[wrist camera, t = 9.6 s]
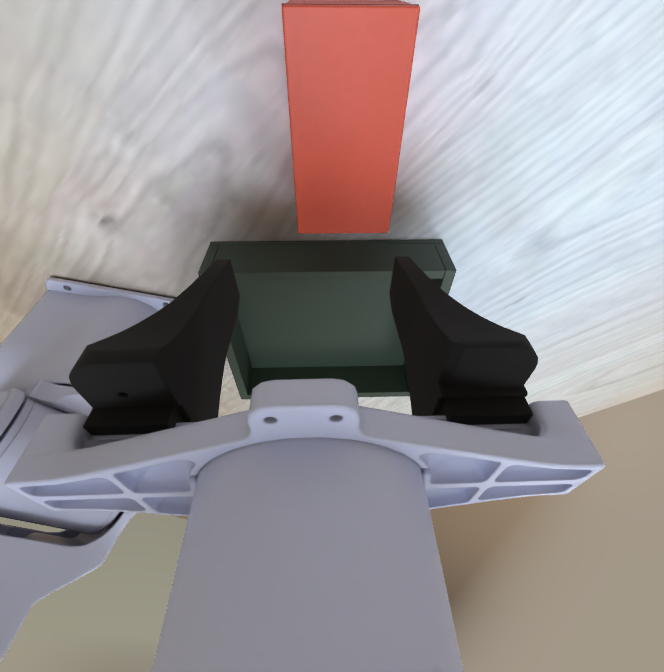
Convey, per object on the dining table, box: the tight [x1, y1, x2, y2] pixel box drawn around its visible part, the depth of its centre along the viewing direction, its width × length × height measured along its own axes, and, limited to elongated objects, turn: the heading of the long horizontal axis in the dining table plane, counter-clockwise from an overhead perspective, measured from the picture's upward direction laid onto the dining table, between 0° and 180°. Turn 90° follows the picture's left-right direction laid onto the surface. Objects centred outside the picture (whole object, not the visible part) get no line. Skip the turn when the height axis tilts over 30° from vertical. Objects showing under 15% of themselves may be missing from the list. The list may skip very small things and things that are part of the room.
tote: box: [198, 240, 456, 399], centre depth 28 cm, size 16×14×4 cm
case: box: [282, 0, 420, 234], centre depth 17 cm, size 5×9×4 cm, turn 0°
